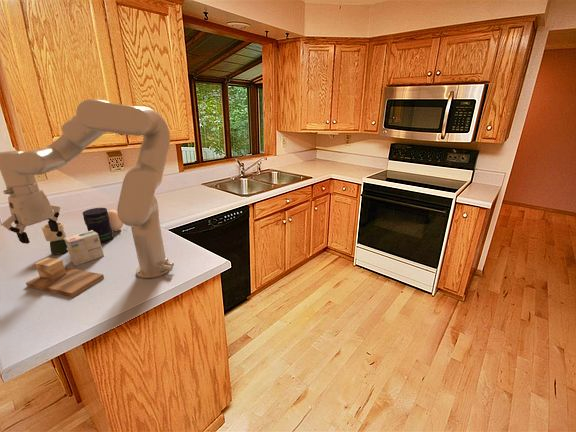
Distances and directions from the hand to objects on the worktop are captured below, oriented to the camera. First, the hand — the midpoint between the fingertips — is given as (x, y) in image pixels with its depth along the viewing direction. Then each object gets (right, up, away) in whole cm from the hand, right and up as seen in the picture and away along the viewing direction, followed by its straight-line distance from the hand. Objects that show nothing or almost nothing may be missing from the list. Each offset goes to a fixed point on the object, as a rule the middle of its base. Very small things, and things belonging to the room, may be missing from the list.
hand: (41, 237), depth 100 cm
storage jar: (-3, -5, +38) cm, 39 cm away
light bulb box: (+2, -11, +21) cm, 24 cm away
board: (+6, -17, +4) cm, 18 cm away
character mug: (-14, -9, +27) cm, 32 cm away
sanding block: (0, -15, +5) cm, 16 cm away
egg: (-3, -1, +49) cm, 49 cm away
